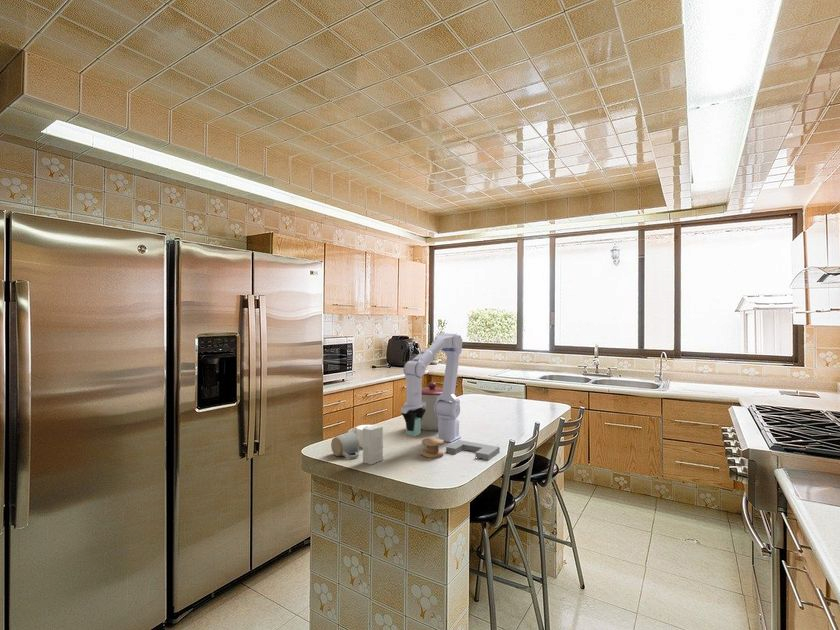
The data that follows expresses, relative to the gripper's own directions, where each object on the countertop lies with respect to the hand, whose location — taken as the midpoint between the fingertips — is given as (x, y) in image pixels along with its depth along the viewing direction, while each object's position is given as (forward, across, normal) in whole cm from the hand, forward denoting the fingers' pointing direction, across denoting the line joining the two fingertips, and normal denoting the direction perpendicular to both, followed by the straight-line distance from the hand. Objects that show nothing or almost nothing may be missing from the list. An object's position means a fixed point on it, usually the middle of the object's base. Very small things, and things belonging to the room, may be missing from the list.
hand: (413, 429), depth 163 cm
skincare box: (+9, +16, -6) cm, 20 cm away
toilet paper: (+9, +3, -22) cm, 24 cm away
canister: (+9, -34, -12) cm, 37 cm away
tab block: (+2, 0, 0) cm, 2 cm away
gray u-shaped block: (+8, -12, +19) cm, 24 cm away
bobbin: (+8, -2, +8) cm, 11 cm away
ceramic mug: (+9, +16, -18) cm, 26 cm away
